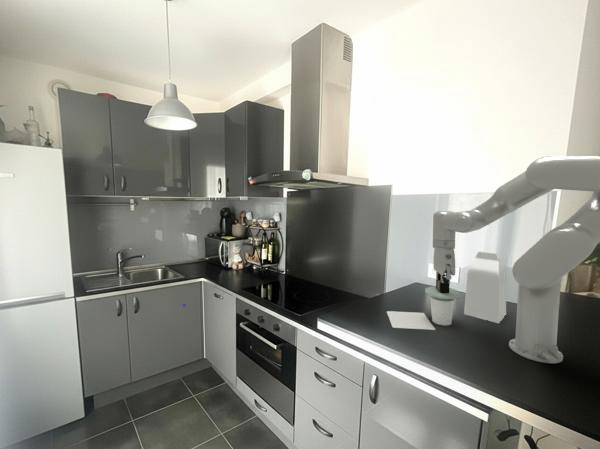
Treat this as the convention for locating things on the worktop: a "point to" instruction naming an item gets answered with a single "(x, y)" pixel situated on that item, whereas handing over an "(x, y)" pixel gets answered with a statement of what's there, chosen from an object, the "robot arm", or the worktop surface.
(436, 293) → the lid
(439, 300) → the white cup
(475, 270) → the milk
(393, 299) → the worktop surface
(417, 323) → the mat
